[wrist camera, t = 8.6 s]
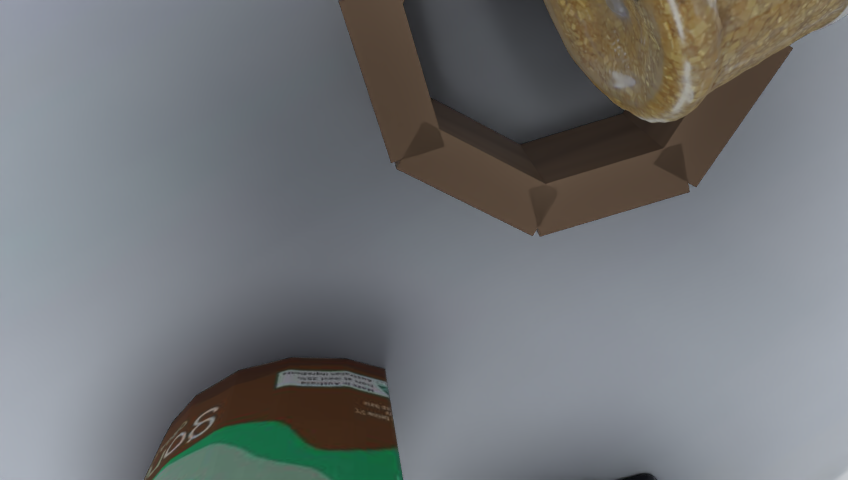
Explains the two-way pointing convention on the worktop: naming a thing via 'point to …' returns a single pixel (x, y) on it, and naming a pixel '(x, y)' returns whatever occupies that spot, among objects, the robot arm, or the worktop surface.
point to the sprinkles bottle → (679, 45)
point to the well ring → (543, 158)
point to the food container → (286, 426)
